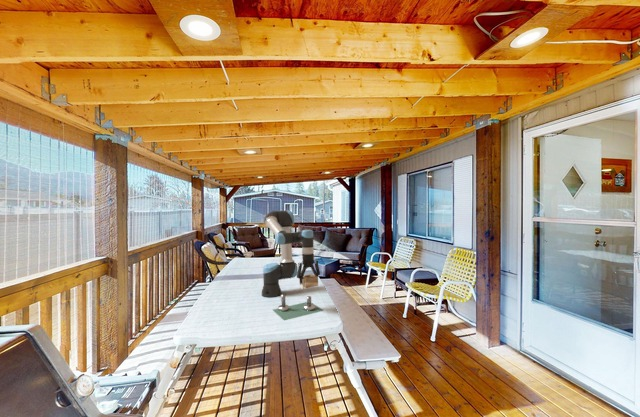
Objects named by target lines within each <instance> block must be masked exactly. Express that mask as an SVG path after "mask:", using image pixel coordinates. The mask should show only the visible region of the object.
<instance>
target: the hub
mask: <svg viewBox="0 0 640 417" xmlns="http://www.w3.org/2000/svg"><path fill="white" fill-rule="evenodd" d="M306 302H307V304H305V305H303V309H304V310H305V311H313V310H315V305H316V304H314V303H313V304H311V303H312V296H311V295H308V296H306Z"/></svg>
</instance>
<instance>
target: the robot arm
mask: <svg viewBox="0 0 640 417" xmlns="http://www.w3.org/2000/svg"><path fill="white" fill-rule="evenodd" d="M263 218H264V219H263V222H264V225H265V226H266V228H269V229H270V231H271V232H272V233H273V235H274V241H275V243H276V245H280V252H281V256H280V257H281V260H280V261H279V263H277V262H271V263H268V264H265V265H264V266H263V268H262V274H263V279H262V280H263V286H262V288H261V296H262V297H263V298H276V297H279V296H281V295H282V289H281V286H280V281H281V280H287V279H292V278H295V277H296V278H297V279H298V280H299V285H300V284H301V285H300V288H301V289H302V290H304V289H305V287H304V279H303V276H304V275H305V273H306V272H307V271H306V270H307V269H308V268H310V269H311V270H312V274H313V275H315V276H317V277H318V278H319V276H320V275H321V271H320V267H319V261H318V260H316V259H315V254H314V252H315V251H314V248H315V246H314V231H313V230H312V229H303V230H299V231H296V232H295V231H294V232H291V231H292V230H291V229H292V228H293V225H294V224H295V216H294V213H293V212H292V211H291V210H273V211H270V212H268V213H267V214H266V215H265V217H263ZM292 244H301V247H302V248H301V251H302V252H301V253H302V262H298V264H297V263H296V262H295V259H293V248H292V246H293V245H292ZM314 259H315V260H314ZM279 280H280V281H279Z"/></svg>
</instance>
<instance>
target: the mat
mask: <svg viewBox="0 0 640 417" xmlns="http://www.w3.org/2000/svg"><path fill="white" fill-rule="evenodd" d="M305 304H307V301H306V302H305V301H304V302H301V303H296V304H292V305H288V306H289V310H288V311H285V312H281V311H279V310H278V308H274V309H272V311H273V312H274V313H275V314H276V315H278V317H280V318H281V319H282V321H287V320H292V319H296V318H299V317H304V316H308V315H312V314H316V313H320V312H323V311H324V309H322V308H321V307H319V306H318V305H316V304H315V310H313V311H305V310H304V309H303V305H305ZM311 304H314V303H312V302H311Z"/></svg>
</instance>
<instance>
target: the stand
mask: <svg viewBox="0 0 640 417" xmlns="http://www.w3.org/2000/svg"><path fill="white" fill-rule="evenodd" d="M280 296H281V298H280V299H281V304H280V305H279V306H278V308H277V309H278V310H279V311H281V312H285V311H288V310H289V306H290V305H288V304H286V294H285V293H281V295H280Z"/></svg>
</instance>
